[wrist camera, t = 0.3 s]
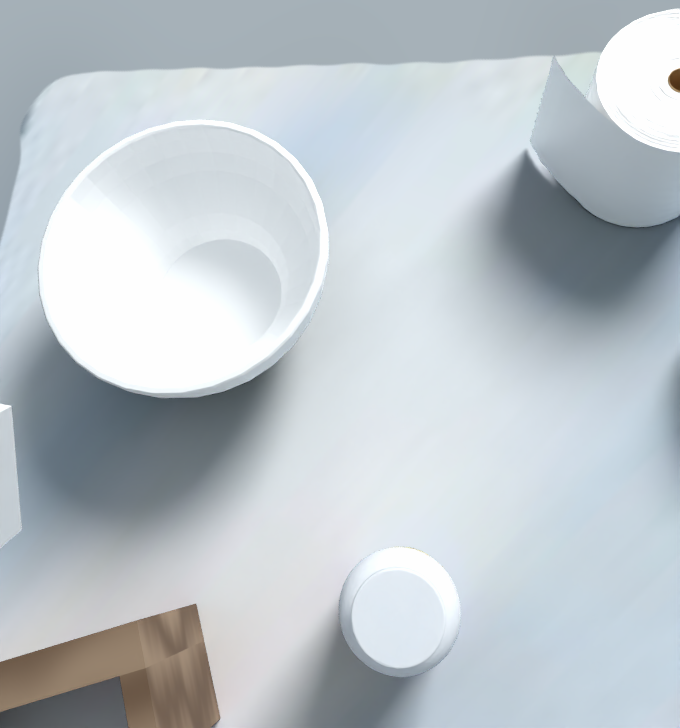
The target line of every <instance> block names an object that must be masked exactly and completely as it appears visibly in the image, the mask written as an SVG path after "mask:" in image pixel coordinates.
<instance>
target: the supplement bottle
mask: <svg viewBox="0 0 680 728" xmlns="http://www.w3.org/2000/svg"><path fill="white" fill-rule="evenodd" d="M339 620H340V625H341V629H342V633H343V636H344V638H345V640H346V642H347V644H348V646H349V647H350V649H351V650H352V652H353V653H354V654H355V655H356V656H357V657H358V659H360V660H361V661H362V662H363V663H364V664H366V665H367V666H368V667H370V668H372V669H373V670H375V671H377V672H380V673H382V674H385V675H389V676H394V677H409V676H415V675H419V674H422V673H424V672H426V671H428V670H430V669H432V668H433V667H435V666H436V665H437V664H439V663H440V662H441V661H442V660H443V659H444V658H445V657H446V656H447V654H448V653H449V652H450V650H451V648H452V647H453V645H454V643H455V641H456V639H457V636H458V632H459V628H460V622H461V607H460V600H459V596H458V593H457V590H456V587H455V585H454V583H453V581H452V579H451V578H450V576H449V575H448V573H447V572H446V570H445V569H444V568H443V567H442V566H441V565H440V564H439V563H438V562H437V561H435V560H434V559H433V558H431V557H430V556H429V555H427V554H426V553H424V552H422V551H420V550H417V549H414V548H409V547H391V548H386V549H382V550H379V551H376V552H374V553H372V554H370V555H368V556H367V557H365V558H364V559H363V560H362V561H360V562H359V563H358V564H357V565H356V566H355V567H354V568H353V570H352V571H351V572H350V574H349V575H348V577H347V579H346V581H345V583H344V585H343V588H342V591H341V595H340V600H339Z"/></svg>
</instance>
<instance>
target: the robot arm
mask: <svg viewBox="0 0 680 728" xmlns="http://www.w3.org/2000/svg"><path fill="white" fill-rule="evenodd" d="M21 530H22V525H21V513H20V501H19V488H18V476H17V464H16V452H15V440H14V428H13V415H12V406H9V405H4V404H0V548H1V547H3V546H4V545H5V544H6V543H7V542H8V541H10V540H11V539H12V538H13V537H14V536H16V535H17V534H18V533H19V532H20V531H21Z"/></svg>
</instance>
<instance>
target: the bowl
mask: <svg viewBox="0 0 680 728" xmlns="http://www.w3.org/2000/svg"><path fill="white" fill-rule="evenodd" d="M328 258H329V236H328V229H327V224H326V219H325V214H324V209H323V204H322V201H321V199H320V197H319V195H318V193H317V190H316V188H315V186H314V184H313V181H312V179H311V178H310V177H309V175H308V174H307V173H306V171H305V170H304V169H303V167H302V166H301V165H300V163H299V162H298V161H297V159H296V158H294V157H293V156H292V155H291V154H290V153H289V152H287V151H286V150H285V149H284V148H283V147H282V146H280V145H279V144H278V143H277V142H275V141H273V140H271V139H269V138H268V137H266V136H264V135H262V134H260V133H258V132H257V131H255V130H252V129H249V128H245V127H242V126H239V125H236V124H232V123H228V122H219V121H210V120H192V121H177V122H173V123H169V124H164V125H160V126H156V127H152V128H149V129H147V130H144V131H142V132H140V133H137V134H135V135H132V136H130V137H128V138H125V139H124V140H122V141H121V142H119V143H117V144H116V145H114V146H113V147H111V148H109V149H108V150H106V151H105V152H103V153H102V154H100V155H99V156H98V157H97V158H96V159H95V160H94V161H93V162H91V163H90V164H89V165H88V166H87V167H86V168H85V169H84V170H82V171H81V172H80V174H79V175H78V176H77V177H76V178H75V180H74V181H73V182H72V183H71V185H70V186H69V187H68V188H67V190H66V191H65V192H64V193H63V195H62V197H61V199H60V201H59V202H58V204H57V206H56V208H55V209H54V211H53V213H52V215H51V217H50V219H49V222H48V225H47V228H46V231H45V234H44V237H43V240H42V243H41V250H40V257H39V264H38V281H39V296H40V299H41V303H42V306H43V310H44V313H45V317H46V320H47V322H48V324H49V326H50V328H51V330H52V331H53V333H54V335H55V337H56V339H57V341H58V343H59V344H60V345H61V346H62V347H63V348H64V350H65V351H66V352H67V353H68V354H69V355H70V356H71V358H72V359H73V360H74V361H75V362H76V363H77V364H78V365H80V366H81V367H83V368H84V369H85V370H87V371H88V372H90V373H91V374H92V375H94V376H95V377H97V378H98V379H100V380H102V381H105V382H107V383H109V384H112V385H114V386H117V387H119V388H121V389H124V390H126V391H129V392H132V393H137V394H142V395H147V396H152V397H158V398H191V397H201V396H205V395H210V394H215V393H219V392H224V391H226V390H229V389H231V388H233V387H236V386H238V385H241V384H243V383H245V382H248V381H250V380H252V379H253V378H255V377H256V376H258V375H259V374H261V373H262V372H264V371H265V370H267V369H268V368H270V367H271V366H273V365H274V364H275V363H276V362H277V361H278V360H279V359H280V358H281V357H282V356H283V355H284V354H285V353H286V352H287V351H288V350H289V349H291V348H292V347H293V346H294V344H295V343H296V341H297V340H298V339H299V337H300V336H301V334H302V333H303V332H304V330H305V329H306V327H307V326H308V324H309V323H310V321H311V319H312V316H313V314H314V312H315V310H316V308H317V305H318V303H319V301H320V299H321V295H322V291H323V286H324V282H325V277H326V273H327V268H328Z"/></svg>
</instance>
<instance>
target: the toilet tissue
mask: <svg viewBox="0 0 680 728" xmlns="http://www.w3.org/2000/svg"><path fill="white" fill-rule="evenodd" d="M530 142H531V145H532V147H533V149H534V150H535V152H536V153H537V155H538V157H539V159H540V161H541V163H542V164H543V165H544V166H545V167H546V168H547V169H548V170H549V172H550V173H551V174H552V175H553V177H554V178H555V179H556V180H557V181H558V182H559V183H560V184H561V185H562V186H563V187H564V188H565V189H566V190H567V192H568V193H569V194H570V195H572V196H573V197H574V198H575V199H576V200H577V201H578V202H579V203H580V204H581V205H582V206H583V207H584V208H585V209H587V210H588V211H589V212H591V213H592V214H593V215H595V216H597V217H599V218H601V219H603V220H605V221H607V222H610V223H613V224H617V225H620V226H628V227H650V226H654V225H659V224H663V223H665V222H668V221H670V220H672V219H675V218H677V217H678V216H679V215H680V9H671V10H667V11H663V12H659V13H655V14H651V15H647V16H645V17H643V18H641V19H638V20H636V21H634V22H632V23H631V24H629V25H628V26H626V27H625V28H623V29H622V30H620V31H619V32H618V33H617V35H616V36H614V37H613V38H612V39H611V40H610V42H609V43H608V45H607V47H606V48H605V49H604V51H603V53H602V55H601V57H600V58H599V61H598V63H597V67H596V69H595V71H594V75H593V78H592V81H591V83H590V85H589V89H588V91H587V93H586V95H585V97H584V95H583V94H582V93H581V92H580V91H579V90H578V89H577V88H576V87H575V86H574V85H573V84H572V82H571V81H570V80H569V79H568V78H567V76H566V75H565V73H564V71H563V69H562V68H561V67H560V65H559V64H558V62H557V60H556V58H555V56H554V57H553V59H552V64H551V69H550V72H549V76H548V79H547V83H546V86H545V90H544V92H543V97H542V98H541V104H540V106H539V111H538V113H537V118H536V120H535V125H534V129H533V131H532V136H531V138H530Z"/></svg>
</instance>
